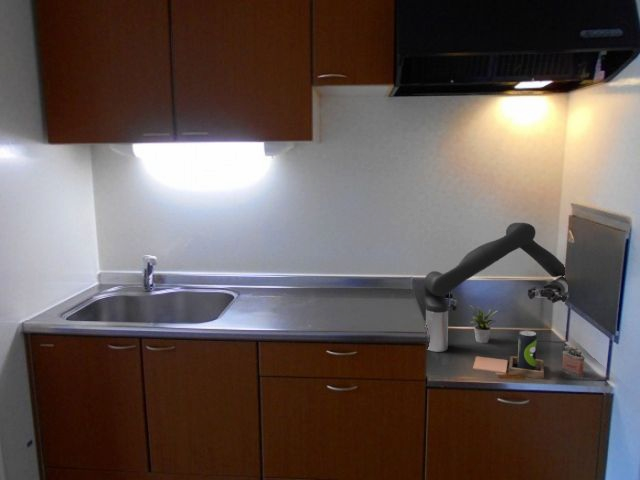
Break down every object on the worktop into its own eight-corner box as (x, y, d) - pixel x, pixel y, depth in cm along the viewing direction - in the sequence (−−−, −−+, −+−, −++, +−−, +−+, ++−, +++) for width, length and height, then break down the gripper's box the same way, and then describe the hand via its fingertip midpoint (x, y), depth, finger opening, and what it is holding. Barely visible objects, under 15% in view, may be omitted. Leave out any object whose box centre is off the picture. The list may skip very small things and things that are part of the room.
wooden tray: (508, 374, 187) (508, 367, 187) (510, 362, 198) (510, 356, 198) (543, 379, 183) (543, 372, 182) (543, 366, 194) (543, 360, 193)
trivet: (472, 369, 192) (472, 367, 192) (476, 357, 203) (476, 356, 203) (505, 373, 188) (505, 372, 188) (507, 361, 199) (507, 360, 198)
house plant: (455, 339, 223) (456, 304, 221) (474, 332, 232) (475, 298, 229) (483, 349, 212) (484, 312, 209) (502, 341, 220) (503, 305, 218)
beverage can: (515, 366, 194) (517, 329, 192) (532, 367, 193) (534, 330, 190) (519, 373, 188) (521, 335, 185) (536, 374, 187) (538, 336, 184)
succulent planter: (585, 376, 184) (587, 350, 183) (579, 378, 183) (581, 352, 181) (565, 368, 191) (566, 343, 190) (559, 370, 190) (561, 345, 188)
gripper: (538, 278, 209) (523, 286, 198) (574, 283, 200) (561, 292, 188) (537, 295, 211) (522, 304, 199) (573, 301, 201) (560, 311, 189)
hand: (541, 298), depth 194 cm, fingers open, 8 cm apart
